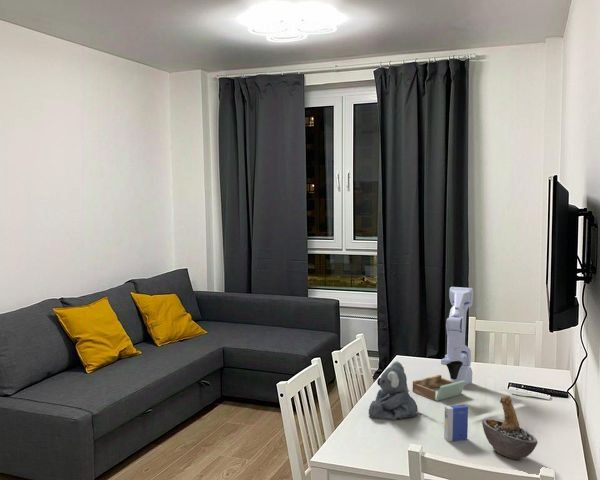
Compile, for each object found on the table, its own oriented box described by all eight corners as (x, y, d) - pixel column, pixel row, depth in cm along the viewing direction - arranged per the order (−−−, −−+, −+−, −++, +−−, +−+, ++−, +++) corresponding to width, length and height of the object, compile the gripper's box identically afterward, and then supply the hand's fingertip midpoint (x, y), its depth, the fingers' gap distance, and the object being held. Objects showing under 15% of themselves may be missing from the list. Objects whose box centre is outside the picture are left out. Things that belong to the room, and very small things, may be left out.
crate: (439, 388, 262) (439, 374, 261) (460, 395, 252) (460, 382, 251) (412, 394, 253) (412, 381, 252) (433, 403, 243) (433, 389, 242)
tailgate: (459, 393, 251) (463, 380, 248) (460, 395, 250) (465, 381, 248) (435, 400, 243) (440, 386, 241) (437, 401, 242) (441, 387, 240)
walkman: (463, 436, 211) (464, 403, 210) (467, 439, 208) (468, 406, 207) (443, 438, 209) (443, 405, 208) (447, 441, 206) (447, 408, 205)
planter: (481, 442, 206) (483, 385, 204) (533, 448, 201) (535, 390, 199) (481, 461, 191) (483, 400, 190) (537, 468, 187) (539, 406, 185)
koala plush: (376, 403, 243) (377, 356, 242) (420, 408, 237) (421, 360, 236) (366, 418, 227) (367, 368, 225) (414, 425, 221) (415, 373, 219)
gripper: (456, 341, 250) (456, 373, 251) (435, 347, 241) (434, 379, 242) (471, 344, 245) (470, 377, 246) (449, 350, 236) (448, 384, 237)
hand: (453, 378), depth 244 cm, fingers closed
